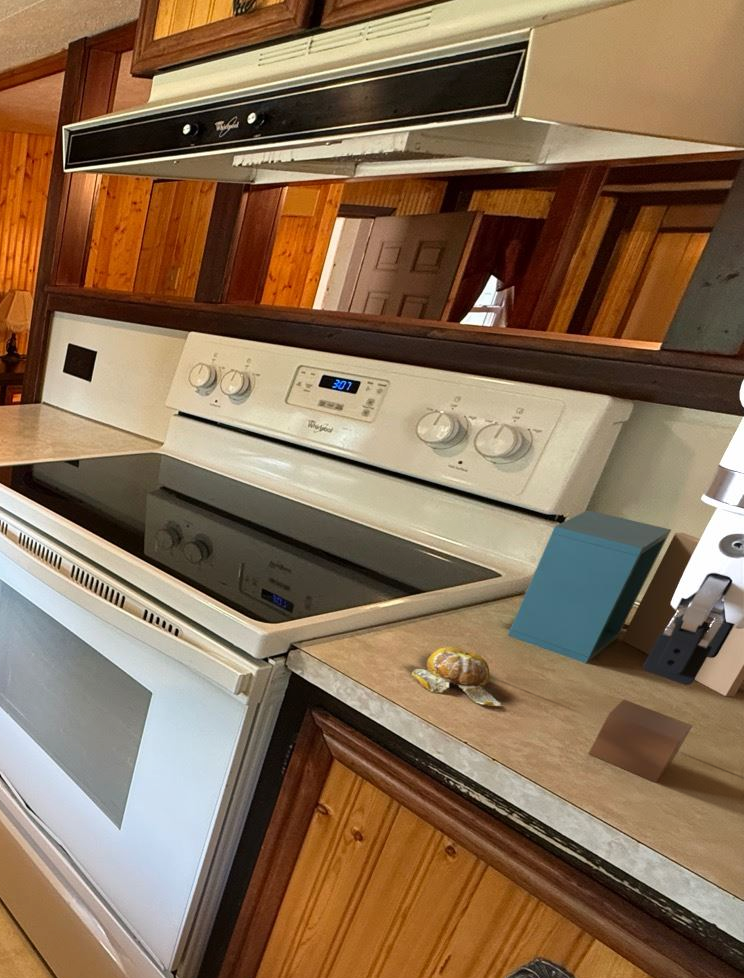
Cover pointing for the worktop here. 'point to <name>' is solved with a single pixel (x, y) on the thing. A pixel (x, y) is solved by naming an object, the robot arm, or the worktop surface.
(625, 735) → the block
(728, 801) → the worktop surface
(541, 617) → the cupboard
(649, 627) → the tan rectangular box
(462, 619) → the worktop surface
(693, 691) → the worktop surface
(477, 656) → the fruit
